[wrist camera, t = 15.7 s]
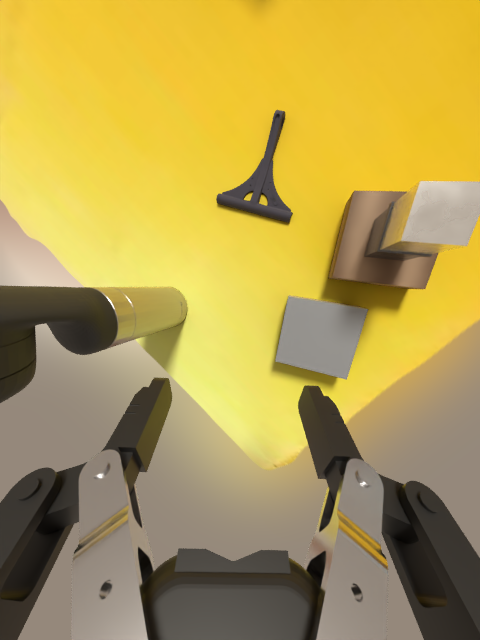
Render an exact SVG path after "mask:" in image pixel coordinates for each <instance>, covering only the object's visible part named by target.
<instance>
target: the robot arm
mask: <svg viewBox="0 0 480 640" xmlns="http://www.w3.org/2000/svg"><path fill="white" fill-rule="evenodd" d="M186 314H187V304H186V300H185V298H184V296H183V295H182V294H181V293H180V291H178V290H177V289H175V288H173V287H90V288H87V287H85V288H72V287H32V286H29V287H28V286H25V287H24V286H0V403H1V402H3V401H5V400H7V399H8V398H10V397H12V396H13V395H15V394H16V393H18V392H20V391H21V390H22V389H24V388H25V387H26V386H27V385H28V384H29V383H30V382H31V380H32V379H33V377H34V374H35V369H36V340H35V325H38V324H44V323H47V325H48V326H49V328H50V330H51V331H52V333H53V335H54V336H55V338H56V339H57V340H58V342H59V343H60V344H61V345H62V346H63V347H65V348H66V349H67V350H69V351H71V352H73V353H75V354H80V355H87V354H92V353H96V352H99V351H101V350H104V349H107V348H110V347H113V346H116V345H119V344H122V343H125V342H128V341H131V340H134V339H137V338H140V337H143V336H146V335H149V334H152V333H155V332H158V331H161V330H164V329H168V328H171V327H174V326H177V325H179V324H180V323H182V322H183V320H184V319H185V317H186ZM171 401H172V392H171V387H170V382H169V379H168V378H154V379H153V380H152V382H151V384H150V386H149V387H143V388H142V389H141V390H140V391H139V392H138V393H137V394H135V396H134V398H133V400H132V401H131V403H130V406H129V407H128V408H127V410H126V412H125V414H124V415H123V417H122V419H121V420H120V422H119V424H118V426H117V427H116V429H115V431H114V432H113V434H112V436H111V438H110V440H109V441H108V443H107V445H106V446H105V448H104V449H103V450H102V451H101V452H100V453H98V454H96V455H95V456H94V457H92V458H91V459H90V460H89V461H88V462H86V463H84V464H82V465H79V466H76V467H72V468H69V469H66V470H63V471H59V472H55V471H54V470H53V469H51V468H42V469H38V470H35V471H34V472H31V473H30V474H28V475H26V476H25V477H24V478H22V479H21V480H20V481H19V482H18V483H17V484H16V485H15V486H14V487H13V488H12V489H11V490H10V491H9V493H8V494H7V495H6V496H5V498H4V499H3V500H2V501H1V503H0V640H17V639H18V637H19V635H20V633H21V631H22V629H23V627H24V625H25V623H26V621H27V619H28V617H29V615H30V612H31V610H32V609H33V607H34V605H35V602H36V600H37V598H38V596H39V594H40V592H41V590H42V588H43V586H44V584H45V582H46V580H47V578H48V576H49V574H50V572H51V570H52V568H53V566H54V564H55V562H56V560H57V558H58V555H59V553H60V551H61V549H62V547H63V545H64V543H65V541H66V539H67V537H68V535H69V533H70V531H71V529H72V527H73V525H74V523H77V522H79V545H78V547H77V549H76V550H75V552H74V555H73V561H72V617H71V621H72V622H71V640H386V638H387V603H388V565H387V560H386V557H385V556H384V554H383V553H382V550H381V533H382V535H383V538H384V540H385V543H386V545H387V548H388V550H389V553H390V555H391V558H392V560H393V563H394V565H395V568H396V570H397V573H398V575H399V578H400V580H401V583H402V585H403V588H404V590H405V593H406V595H407V598H408V601H409V603H410V605H411V608H412V610H413V613H414V615H415V618H416V620H417V623H418V625H419V628H420V631H421V633H422V635H423V638H424V640H480V558H479V557H478V555H477V553H476V552H475V551H474V549H473V547H472V546H471V544H470V543H469V541H468V540H467V538H466V537H465V535H464V533H463V532H462V531H461V529H460V527H459V526H458V524H457V523H456V521H455V520H454V518H453V517H452V515H451V514H450V512H449V511H448V509H447V507H446V506H445V504H444V503H443V502H442V500H441V499H440V498H439V497H438V496H437V495H436V494H435V493H434V492H433V491H432V490H430V488H428V487H427V486H425V485H424V484H422V483H419V482H417V481H409V482H407V483H406V484H405V485H404V484H401V483H399V482H396V481H394V480H391V479H389V478H386V477H384V476H381V475H380V474H378V473H377V472H376V471H375V470H374V469H373V468H372V467H371V466H370V465H369V464H368V463H366V462H365V461H364V460H363V459H362V457H361V455H360V453H359V451H358V450H357V447H356V445H355V443H354V441H353V439H352V437H351V435H350V433H349V431H348V429H347V427H346V425H345V424H344V421H343V419H342V417H341V416H340V413H339V410H338V408H337V406H336V405H335V403H334V402H333V401H332V400H331V399H330V398H329V397H328V396H323V394H322V391H321V389H320V388H319V387H318V386H304V388H303V391H302V394H301V396H300V399H299V403H298V409H299V414H300V417H301V420H302V424H303V427H304V431H305V434H306V438H307V441H308V445H309V448H310V451H311V455H312V458H313V461H314V465H315V469H316V472H317V476H318V479H326V480H327V483H328V488H327V492H326V495H325V499H324V503H323V506H322V510H321V514H320V518H319V522H318V526H317V529H316V532H315V535H314V537H313V539H312V542H311V544H310V547H309V549H308V553H307V556H306V560H305V564H304V567H302V566H301V565H299V564H298V563H296V562H295V561H293V560H292V559H290V558H288V551H278V550H261V551H258V552H256V553H253V554H251V555H249V556H246V557H244V558H241V559H239V560H237V561H230V560H228V559H226V558H224V557H222V556H220V555H217V554H215V553H213V552H211V551H209V550H206V549H178V555H176V556H174V557H172V558H170V559H169V560H167V561H165V562H164V563H163V564H162V565H160V566H159V567H158V568H157V569H156V570H155V566H154V561H153V556H152V552H151V547H150V543H149V540H148V537H147V534H146V531H145V527H144V523H143V518H142V513H141V509H140V505H139V499H138V495H137V490H136V485H135V481H136V479H137V476H138V474H139V472H147V469H148V467H149V464H150V461H151V458H152V455H153V453H154V450H155V447H156V445H157V442H158V439H159V436H160V433H161V431H162V428H163V425H164V422H165V420H166V417H167V414H168V411H169V408H170V406H171Z"/></svg>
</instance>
